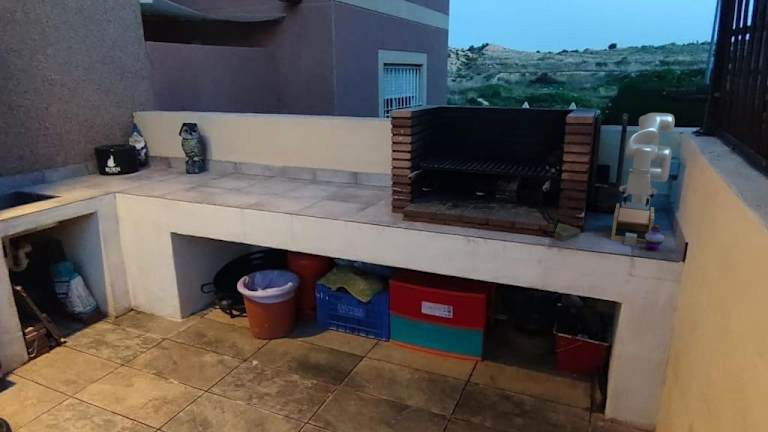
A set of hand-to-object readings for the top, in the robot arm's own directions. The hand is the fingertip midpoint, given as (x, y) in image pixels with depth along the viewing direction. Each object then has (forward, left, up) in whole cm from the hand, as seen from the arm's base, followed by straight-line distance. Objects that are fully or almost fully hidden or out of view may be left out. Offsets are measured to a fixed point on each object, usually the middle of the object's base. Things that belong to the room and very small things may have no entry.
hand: (635, 204), depth 253 cm
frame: (-6, 0, -18) cm, 19 cm away
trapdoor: (-7, 0, -9) cm, 11 cm away
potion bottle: (+12, +10, -18) cm, 24 cm away
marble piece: (+10, -33, -19) cm, 39 cm away
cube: (+9, 0, -13) cm, 16 cm away
